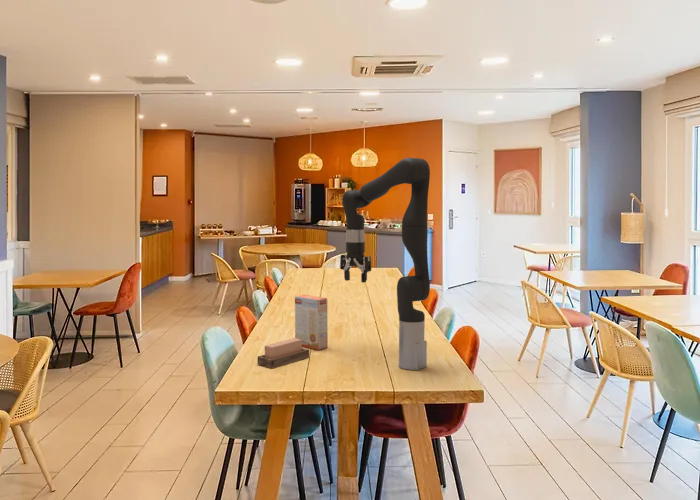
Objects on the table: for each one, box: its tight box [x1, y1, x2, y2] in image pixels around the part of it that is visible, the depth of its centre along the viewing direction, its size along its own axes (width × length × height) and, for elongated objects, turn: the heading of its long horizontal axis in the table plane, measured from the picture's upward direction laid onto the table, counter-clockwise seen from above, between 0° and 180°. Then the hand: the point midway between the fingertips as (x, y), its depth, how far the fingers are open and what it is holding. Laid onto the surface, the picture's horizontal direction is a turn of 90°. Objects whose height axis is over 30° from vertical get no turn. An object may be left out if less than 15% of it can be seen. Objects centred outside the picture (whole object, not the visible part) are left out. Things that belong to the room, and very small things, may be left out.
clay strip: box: [264, 337, 303, 359], centre depth 219 cm, size 15×4×6 cm, turn 139°
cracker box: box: [294, 294, 329, 351], centre depth 239 cm, size 14×6×21 cm, turn 47°
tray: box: [257, 347, 310, 369], centre depth 219 cm, size 8×19×3 cm, turn 140°
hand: (355, 281), depth 231 cm, fingers open, 8 cm apart
